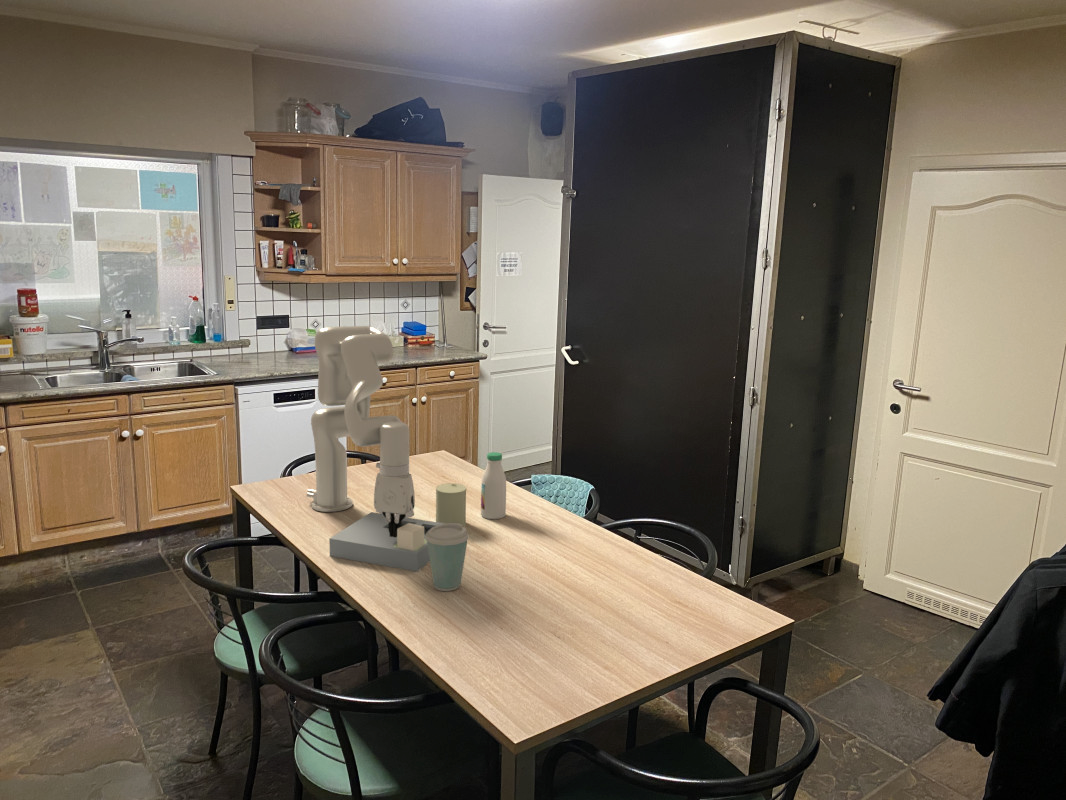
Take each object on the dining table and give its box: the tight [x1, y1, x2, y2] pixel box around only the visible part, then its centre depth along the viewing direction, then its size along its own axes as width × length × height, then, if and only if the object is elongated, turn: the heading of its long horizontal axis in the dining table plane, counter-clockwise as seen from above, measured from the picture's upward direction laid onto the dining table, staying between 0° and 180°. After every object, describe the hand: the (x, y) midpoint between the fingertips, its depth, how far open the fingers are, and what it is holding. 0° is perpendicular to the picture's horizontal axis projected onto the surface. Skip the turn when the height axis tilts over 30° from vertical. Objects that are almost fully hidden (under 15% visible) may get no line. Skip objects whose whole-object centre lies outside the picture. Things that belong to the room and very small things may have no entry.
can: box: [435, 482, 467, 527], centre depth 232 cm, size 9×9×12 cm
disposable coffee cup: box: [426, 523, 470, 592], centre depth 191 cm, size 11×11×15 cm
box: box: [328, 511, 444, 572], centre depth 214 cm, size 26×22×5 cm
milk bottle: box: [480, 451, 507, 520], centre depth 240 cm, size 8×8×20 cm
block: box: [397, 523, 424, 551], centre depth 204 cm, size 5×5×5 cm
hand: (395, 535), depth 207 cm, fingers closed
